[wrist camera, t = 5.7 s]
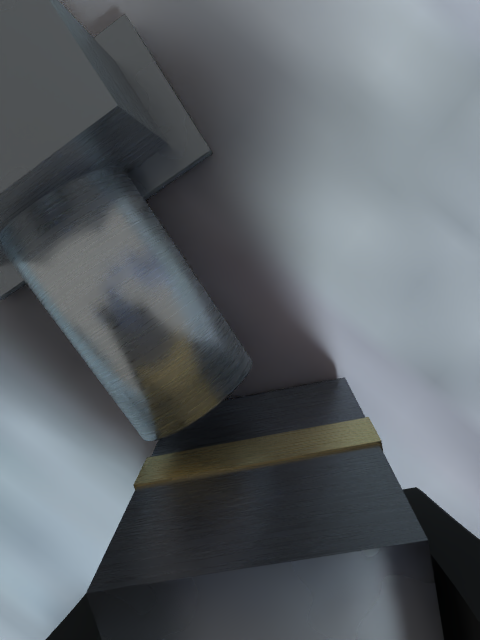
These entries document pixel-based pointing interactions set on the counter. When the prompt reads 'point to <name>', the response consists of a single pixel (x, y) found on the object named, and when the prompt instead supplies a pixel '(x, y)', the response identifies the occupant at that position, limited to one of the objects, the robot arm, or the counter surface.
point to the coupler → (269, 531)
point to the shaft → (106, 214)
